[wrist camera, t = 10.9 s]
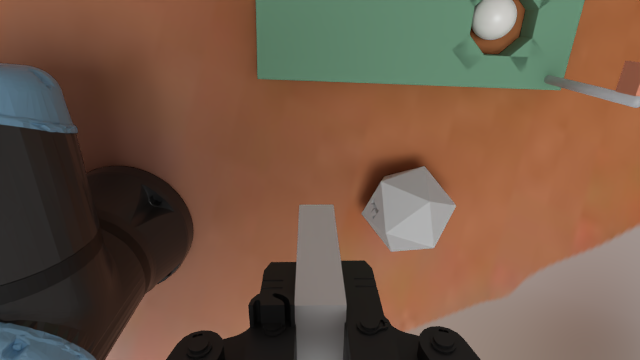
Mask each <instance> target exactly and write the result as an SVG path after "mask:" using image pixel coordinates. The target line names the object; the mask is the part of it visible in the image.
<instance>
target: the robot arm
mask: <svg viewBox="0 0 640 360" xmlns="http://www.w3.org/2000/svg"><path fill="white" fill-rule="evenodd" d="M76 133H78V129H77V127H76V126H75V125H74V124H73V123H72V120H71V117H70V114H69V111H68V109H67V106H66V103H65V100H64V96H63V93H62V90H61V88H60V86H59V84H58V83H57V81H56V80H55V79H54V78H53V77H52V76H51V75H50V74H48V73H47V72H45V71H43V70H41V69H39V68H36V67H33V66H28V65H19V64H5V63H0V360H105V359H106V357H107V356H108V354H109V352H110V351H111V349H112V347H113V346H114V344H115V342H116V341H117V339H118V337H119V336H120V334H121V333H122V331H123V329H124V328H125V326H126V324H127V323H128V321H129V320H130V318H131V316H132V315H133V313H134V311H135V310H136V308H137V306H138V305H139V303H140V302H141V300H142V298H143V297H144V295H145V294H146V293H147V292H148V291H150V290H151V289H152V288H153V287H154V286H155V285H156V284H159V283H161V282H162V281H164V280H166V279H167V278H168V277H170V276H171V275H172V274H173V273H174V272H175V271H176V270H177V269H178V268H179V267H180V265H181V264H182V262H183V261H184V259H185V257H186V255H187V253H188V251H189V249H190V247H191V244H192V239H193V224H192V219H191V216H190V213H189V211H188V209H187V207H186V205H185V203H184V201H183V200H182V199H181V197H180V196H179V195H178V194H177V192H176V191H175V190H174V189H173V188H172V187H170V186H169V185H168V184H167V183H165V182H164V181H163V180H161V179H160V178H158V177H156V176H154V175H152V174H150V173H148V172H146V171H143V170H140V169H136V168H132V167H125V166H109V167H103V168H99V169H95V170H93V171H91V172H89V173H87V174H86V171H85V167H84V163H83V159H82V155H81V151H80V147H79V143H78V139H77V135H76ZM248 306H249V319H250V328H249V329H248V330H246V331H245V332H243V333H241V334H239V335H237V336H234V337H230V338H227V339H223V340H222V338H221V337H220V336H219V335H218V334H217V333H215V332H212V331H198V332H194V333H191V334H189V335H188V336H186V337H184V338H183V339H182V340H181V341H180V342H179V343H178V344H177V345H176V346H175V348H174V349H173V351H172V352H171V353H170V355H169V356H168V358H167V359H166V360H480V358H479V357H478V356H477V355H476V354H475V352H474V351H473V350H472V349H471V347H470V346H469V345H468V344H467V342H466V341H465V340H464V339H463V338H462V337H461V336H460V335H459V334H458V333H456V332H454V331H452V330H450V329H448V328H444V327H440V326H438V327H437V326H436V327H429V328H427V329H424V330H423V331H422V333H421V334H420V336H417V335H413V334H409V333H405V332H402V331H400V330H398V329H396V328H394V327H393V326H392V325H391V324H390V322H389V320H388V319H387V318H386V317H385V316H384V313H383V309H382V306H381V302H380V298H379V294H378V290H377V287H376V282H375V279H374V274H373V270H372V268H371V267H370V266H369V265H368V264H367V263H366V262H365V261H341V258H340V251H339V243H338V236H337V228H336V221H335V213H334V206H333V205H299V224H298V243H297V262H271V263H270V264H269V265H268V267H267V268H266V269H265V270H264V274H263V281H262V286H261V291H260V294H258V295H256V296H255V297H254V298H253V299H251V301H250V303H249V305H248Z"/></svg>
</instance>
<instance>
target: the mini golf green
mask: <svg viewBox="0 0 640 360" xmlns="http://www.w3.org/2000/svg"><path fill="white" fill-rule="evenodd" d="M480 1H481V0H256V30H257V75H258V79H274V80H301V81H328V82H354V83H381V84H408V85H435V86H461V87H488V88H515V89H541V90H561V88H565V89H569V90H572V91H576V92H580V93H583V94H587V95H591V96H594V97H598V98H601V99H605V100H609V101H612V102H616V103H620V104H623V105H627V106H631V107H634V108H638V107H640V63H639V62H632V61H625V63H624V67H623V70H622V73H621V76H620V79H619V82H618V85H617V88H616V91H615V90H610V89H606V88H602V87H598V86H593V85H589V84H585V83H581V82H576V81H572V80H568V79H564V75H565V71H566V68H567V64H568V60H569V56H570V53H571V49H572V45H573V42H574V38H575V34H576V31H577V27H578V23H579V19H580V16H581V12H582V8H583V5H584V1H585V0H520V2H521V3H522V5H523V7H524V8H525V14H524V19H523V24H522V28H521V33H520V37H519V38H517V39H516V40H515V41H514V42H513V43H512V44H510V45H509V46H508V47H507V48H506V49H504V50H503V51H502V52H501V53H500V54H483V53H482V51H481V50H480V49H479V47H478V46H477V45H476V43H475V42H474V40H473V39H472V38H471V36H470V30H471V25H472V19H473V13H474V7H475V5H477V4H478V3H479V2H480Z"/></svg>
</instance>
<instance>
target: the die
mask: <svg viewBox="0 0 640 360" xmlns="http://www.w3.org/2000/svg"><path fill="white" fill-rule="evenodd" d="M455 207H456V205H455V203H454V202H453V201H452V200H451V198H450V197H449V196H448V195H447V194H446V192H445V191H444V190H443V189H442V187H441V186H440V185H439V184H438V182H437V181H436V180H435V179H434V177H433V176H432V175H431V174H430V172H429V171H428V170H427V169H426V167H425V166H423V167H419V168H415V169H411V170H407V171H403V172H399V173H396V174H392V175H388V176H384V178H383V179H382V181H381V182H380V184H379V186H378V187H377V189H376V191H375V192H374V194H373V196H372V197H371V199H370V200H369V202H368V204H367V205H366V207H365V209H364V210H363V212H362V215H363V216H364V218H365V219H366V220H367V222H368V223H369V224H370V225H371V227H372V228H373V229H374V230H375V232H376V233H377V234H378V236H379V237H380V238H381V239H382V241H383V242H384V243H385V244H386V246H387V247H388V248H389V249H390V251H391V252H392V251H404V250H416V249H428V248H434V247H435V245H436V243H437V241H438V239H439V238H440V236H441V234H442V232H443V230H444V228H445V226H446V224H447V222H448V220H449V219H450V217H451V215H452V213H453V211H454V209H455Z"/></svg>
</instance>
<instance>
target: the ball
mask: <svg viewBox="0 0 640 360" xmlns="http://www.w3.org/2000/svg"><path fill="white" fill-rule="evenodd" d="M516 18H517V9H516V5H515V3H514V2H513V1H512V0H481V1H480V2H479V3H478V4H477V5H475V7H474V13H473V19H472V25H471V27H472V30H473V31H474V33H475V34H476V35H477V36H478V37H480V38H482V39H485V40H495V39H498V38H501V37H503V36H504V35H506V34H507V33H508V32H509V31H510V30H511V29H512V27H513V26H514V24H515V22H516Z"/></svg>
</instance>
